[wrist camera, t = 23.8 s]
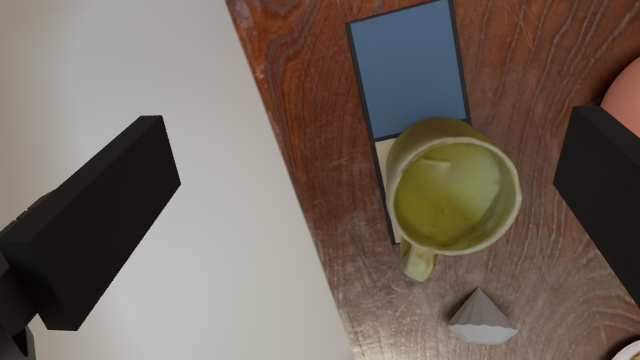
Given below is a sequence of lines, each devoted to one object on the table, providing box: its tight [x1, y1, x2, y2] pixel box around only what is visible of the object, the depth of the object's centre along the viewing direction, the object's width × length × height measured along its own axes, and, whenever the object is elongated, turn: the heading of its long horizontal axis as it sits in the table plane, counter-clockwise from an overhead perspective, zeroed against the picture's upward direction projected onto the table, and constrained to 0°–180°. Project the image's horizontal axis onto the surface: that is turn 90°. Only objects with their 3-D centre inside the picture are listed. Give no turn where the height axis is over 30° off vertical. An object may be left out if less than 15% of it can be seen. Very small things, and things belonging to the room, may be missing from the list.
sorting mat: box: [345, 0, 472, 245], centre depth 36 cm, size 20×9×1 cm, turn 14°
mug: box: [386, 117, 522, 282], centre depth 33 cm, size 12×10×10 cm
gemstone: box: [446, 287, 518, 345], centre depth 39 cm, size 6×6×5 cm
